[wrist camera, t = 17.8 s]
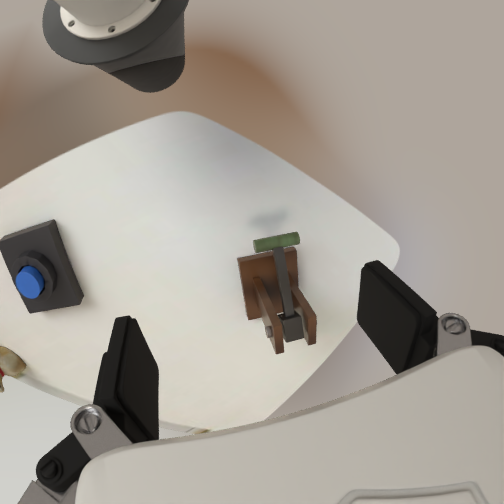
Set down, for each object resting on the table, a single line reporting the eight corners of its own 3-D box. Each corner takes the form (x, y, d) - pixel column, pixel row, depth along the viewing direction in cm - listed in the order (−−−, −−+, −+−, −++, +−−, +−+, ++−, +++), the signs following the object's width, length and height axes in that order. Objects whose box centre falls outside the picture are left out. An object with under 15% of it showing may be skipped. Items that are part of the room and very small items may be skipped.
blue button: (16, 268, 29) (11, 275, 28) (37, 263, 30) (32, 269, 28) (28, 293, 31) (23, 300, 30) (48, 289, 32) (44, 296, 30)
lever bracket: (237, 258, 40) (256, 310, 29) (293, 246, 41) (329, 292, 30) (246, 315, 44) (265, 372, 34) (296, 303, 45) (326, 355, 35)
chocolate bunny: (-1, 337, 36) (-21, 374, 28) (28, 364, 40) (13, 403, 31) (-10, 346, 37) (-29, 382, 28) (17, 372, 40) (3, 409, 32)
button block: (4, 236, 30) (-10, 247, 27) (54, 219, 32) (42, 230, 28) (34, 305, 36) (25, 320, 32) (84, 296, 37) (76, 312, 34)
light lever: (251, 239, 33) (255, 240, 31) (293, 231, 34) (300, 231, 32) (270, 338, 35) (274, 346, 32) (309, 328, 35) (315, 334, 33)
